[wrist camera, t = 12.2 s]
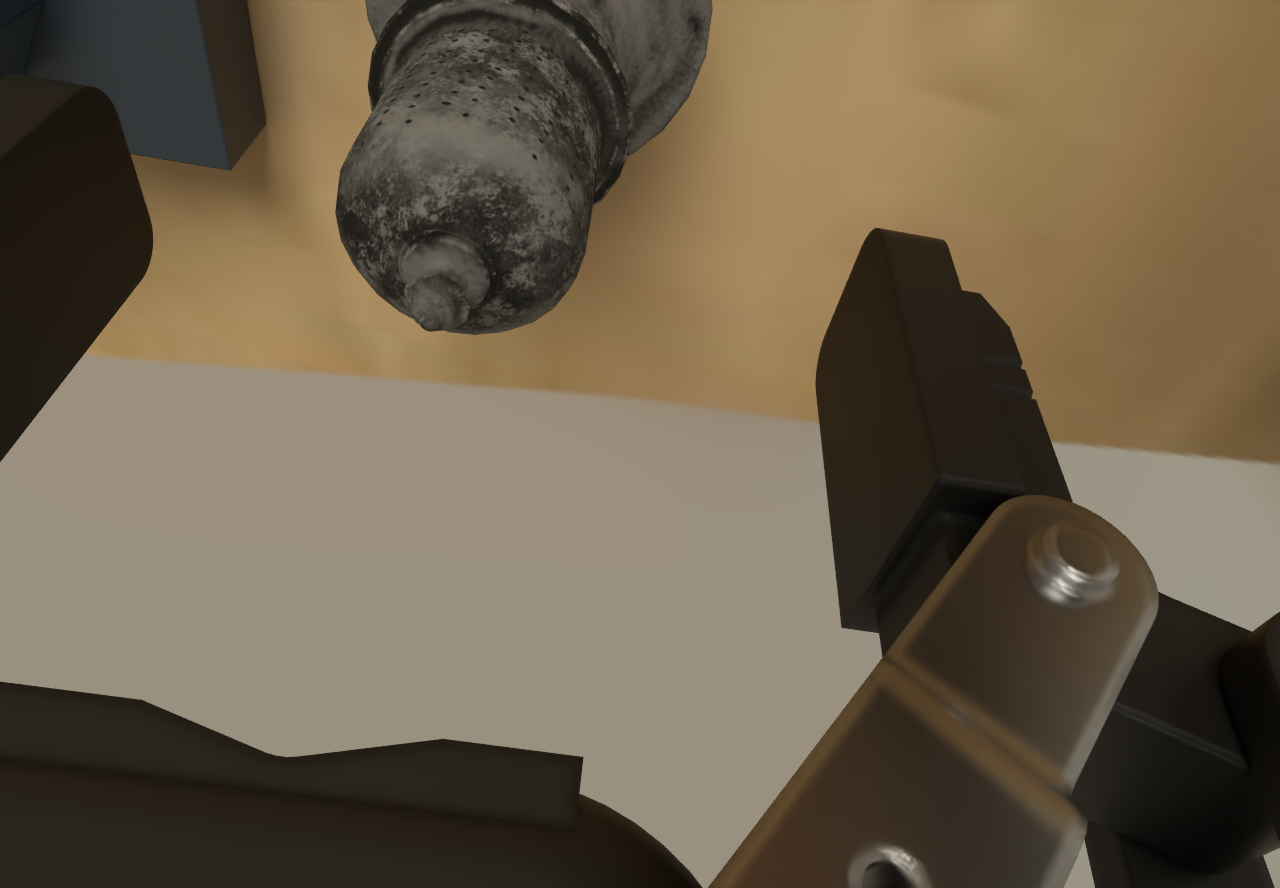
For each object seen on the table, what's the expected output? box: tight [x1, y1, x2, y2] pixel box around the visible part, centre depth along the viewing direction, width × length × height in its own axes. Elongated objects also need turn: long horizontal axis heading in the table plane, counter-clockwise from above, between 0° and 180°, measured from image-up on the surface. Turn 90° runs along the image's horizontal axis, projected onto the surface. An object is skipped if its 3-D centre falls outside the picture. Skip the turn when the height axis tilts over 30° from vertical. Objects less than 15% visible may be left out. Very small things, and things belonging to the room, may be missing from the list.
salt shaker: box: [335, 0, 712, 335], centre depth 13 cm, size 6×6×12 cm
